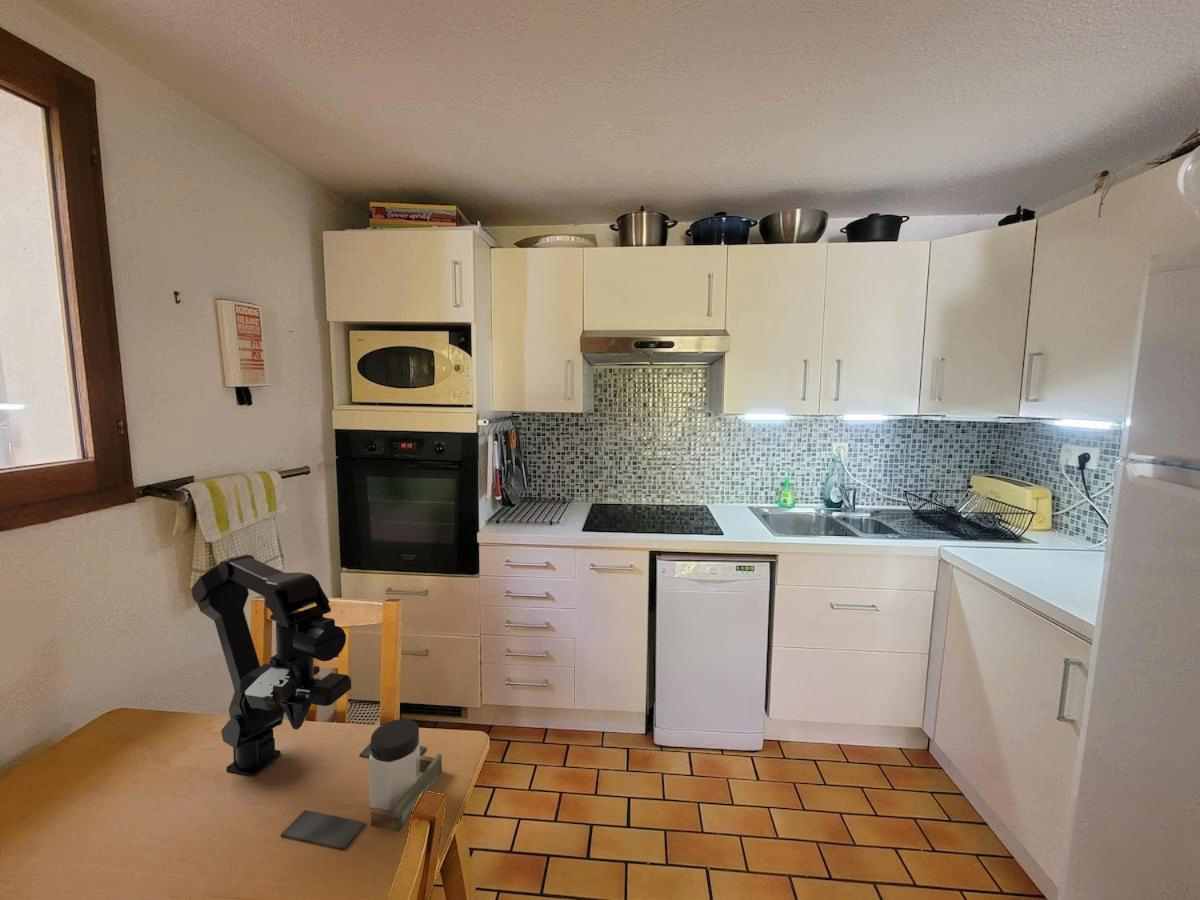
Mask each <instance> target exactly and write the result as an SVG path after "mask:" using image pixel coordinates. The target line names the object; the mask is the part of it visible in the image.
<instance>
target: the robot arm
mask: <svg viewBox="0 0 1200 900" xmlns="http://www.w3.org/2000/svg"><path fill="white" fill-rule="evenodd" d="M249 590H250V591H252V592H255V593H256V594H258V595H260V596H262V597H263V598H264V607H266V608H267V609H268V610H269V611H270V612H271V613H272V614H271V615H270V616H269V619H270V620H271V621H274V622H275V639H276V640H275V641H276V643H275V644H276V645H275V646H276V651H275V652H276V654H274V655H273V656H271V657H270V660H269V662H268V663H264V664H262V665H261V664H260V661H259V658H258V654H257V652H256V651H257V650H256V648H255V644H254V641H253V638H252V633H251V631H250V628H249V624H248V621H247V618H246V614H245V611H244V609H245V606H246V603H247V602H248V601H247V600H248V597H249V593H250V592H249ZM191 596H192V599H193V601H194V602H196V604H197V607H198V609H199V611H200V613H202V614H203V615H205V616H206V617H207V618H209V619H211V620H213V622H214V625H215V628H216V631H217V635H218V637H219V641H220V645H221V649H222V652H223V656H224V659H225V662H226V665H227V669H228V672H229V676H230V681H231V682H232V686H233V690H234V693H233V695H232V698H231V702H230V705H229V707H228V713H229V720H228V721H227V723H225V725H224V726H223V727H222V729H221V730H220V732H221V733H220V735H221V739H222V742H223V743H226V744H227V745H229V746H231V747H232V750H233V751H232V753H233V755H232V756H233V762H231V763H230V764H229V765H228V766H226V770H225V771H226V772H230V773H234V774H235V773H236V774H242V775H246V776H250V777H252V776H255V775H256V774H258V773H259V772H260V771H262V770H263V769H264V768H265V767H267V765H268V764H270V763H271V762H272V761H274V760H275V759H276V758H278V757H279V756H280V755H281V750H279V749H276V741H275V740H276V739H275V738H274V728H276V727H278V726H281V725H283V721H284V717H285V716H286V718H287V719H288V721H289V723H290V726H291V728H292V729H293V730H295V731H296V730H297V731H298V730H299V729H300V728H301V727H302V726H303V723H304V722H305V719H306V717H307V715H308V712H309V711H310V709H311V706H312V704H313V705H317V706H321V707H328V706H331V705H332V704H333V705H334V703H335V702H336V701H338V700H339V699H340V698H341V697H343V695H345V694H347V693H348V692H349V691H350V690H351V689H352V677H351V676H350V675H348V674H344V673H343V674H342V673H336V672H330V673H328V674H327V675H326V676H324V677H323V676H316V675H317V674H318V673H320V672H321V671H320V666H318V665H315V660H318V661H320V662H329V661H332V660H333V659H335V658H337V657H338V656H339V655H340V653H341V652H342V651H343V649H344V647H345V645H346V641H347V635H346V633H345V630H344V629H343V628H342V627H340V626H339V625H336V621H335V618H331V617H325V616H324V615H327V614H329V613H331V612H332V610H331V606H330V600H329V598H328V597H327V595H326V593H325V592H324V590H323V588H322V587H321V583H320V582H319V581H318V579H317V578H316V577H315V576H314V575H313V574H311V573H306V572H283V571H281V570H279V569H278V568H275V567H272V566H270V565H269V564H267V563H264V562H262V561H259V560H257V559H256V558H255V557H254V556H253V555H252V554H243V555H238V556H234V557H229V558H225V559H223V560H222V561H220V562H219V563H218V564H217V566H215V567H214V568H212V569H211V570H208V571H207V572H205V573H204V574H203V575H200V576H199V578H197V580H196V582H195V583H194V584H193V585H192V587H191ZM312 605H315V606H312ZM309 606H312V607H309ZM306 607H309V608H306ZM304 608H306V609H304ZM301 609H303V610H301Z"/></svg>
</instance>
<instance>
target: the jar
mask: <svg viewBox="0 0 1200 900" xmlns="http://www.w3.org/2000/svg"><path fill="white" fill-rule="evenodd" d="M419 728H420V727H419V725H418V723H417V722H415V721H414V720H411V719H407V718H401V719H394V720H391V721H388V722H384V724H381V725H380V726H378V727H376V729H375V730H374V731H373V733H372V734H371V736H370V742H369V744H370V749H371V754H370V757H369V758H368V762H369V763H368V767H369V768H368V770H369V771H368V772H369V773H368V774H369V775H368V776H369V777H368V779H369V781H368V782H369V783H368V785H369V808H372V809H373V808H374V807H376V808H381V809H386V810H391V811H395V810H396V808H397V807H398V806H399V804H400V803H401V802H402V800H403V799H404V798H405V796H406V795H407V794H408V793H409V791H410V790H411V789H412V787H413V786H414V785H415V783H416V782H417V781H418V779H419V778H420V777H421V771H420V746H421V743H420V742H421V739H420V738H421V737H420V729H419Z"/></svg>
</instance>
